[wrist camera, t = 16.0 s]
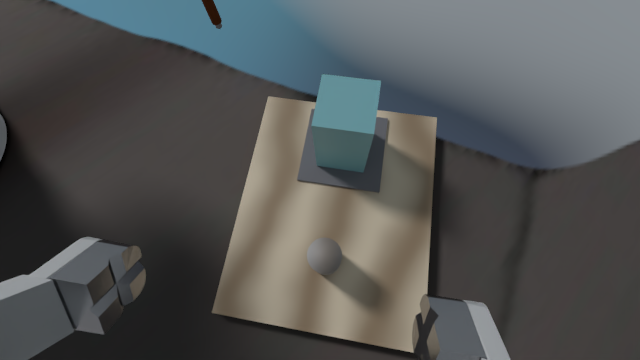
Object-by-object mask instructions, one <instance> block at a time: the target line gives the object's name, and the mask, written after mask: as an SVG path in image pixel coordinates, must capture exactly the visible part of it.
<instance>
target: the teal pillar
mask: <svg viewBox="0 0 640 360" xmlns="http://www.w3.org/2000/svg"><path fill="white" fill-rule="evenodd" d="M380 86H381V81H376V80H368V79H360V78H350V77H343V76H335V75H326V74H322V77H321V81H320V87H319V91H318V96H317V101H316V106H315V110H314V115H313V120H312V125H311V127H312V134H313V142H314V149H315V156H316V164H317V166H322V167H328V168H335V169H342V170H349V171H355V172H362V173H363V172H364V169H365V165H366V162H367V158H368V154H369V151H370V147H371V144H372V140H373V136H374V131H375V124H376V116H377V108H378V101H379V92H380Z"/></svg>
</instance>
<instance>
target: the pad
mask: <svg viewBox="0 0 640 360" xmlns="http://www.w3.org/2000/svg"><path fill="white" fill-rule="evenodd" d="M314 110H315V109H311V114H310V119H309V124H308V129H307V134H306V139H305V143H304V148H303V153H302V158H301V163H300V168H299V172H298V177H297V180H298V181H304V182H311V183H318V184H324V185H331V186H338V187H344V188H351V189H357V190H364V191H371V192H377V193H379V192H380V183H381V175H382V166H383V157H384V148H385V139H386V131H387V122H388V118H381V117H376V124H375V131H374V136H373V140H372V144H371V147H370V151H369V154H368V158H367V162H366V165H365V169H364V172H363V173H362V172H355V171H349V170H342V169H335V168H328V167H322V166H317V164H316V156H315V149H314V142H313V134H312V127H311V125H312V120H313V115H314Z"/></svg>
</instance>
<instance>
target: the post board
mask: <svg viewBox="0 0 640 360" xmlns="http://www.w3.org/2000/svg"><path fill="white" fill-rule="evenodd" d="M315 106H316V102H308V101H300V100H292V99H284V98H276V97H269V96H268V100H267V104H266V108H265V112H264V115H263V119H262V123H261V127H260V131H259V134H258V138H257V142H256V146H255V150H254V153H253V157H252V161H251V165H250V169H249V173H248V176H247V180H246V184H245V188H244V192H243V195H242V199H241V203H240V207H239V211H238V214H237V218H236V222H235V226H234V230H233V233H232V237H231V241H230V245H229V249H228V253H227V256H226V260H225V264H224V268H223V272H222V275H221V279H220V283H219V287H218V291H217V294H216V298H215V302H214V306H213V310H212V313H215V314H220V315H225V316H230V317H235V318H240V319H245V320H250V321H255V322H260V323H265V324H270V325H276V326H281V327H286V328H291V329H296V330H301V331H306V332H311V333H316V334H321V335H326V336H331V337H336V338H341V339H346V340H351V341H356V342H361V343H367V344H372V345H377V346H382V347H387V348H392V349H397V350H402V351H407V352H412V353H414V351H413V344H412V330H413V323H414V319H415V316H416V315H417V314H419V313H420V312H421V309H420V301H421V298H422V296H423V295H424V294H427V288H428V270H429V252H430V234H431V215H432V197H433V179H434V161H435V143H436V124H437V118H436V117H427V116H419V115H412V114H404V113H395V112H388V111H380V110H377V116H376V117H381V118H388V122H387V131H386V139H385V148H384V157H383V166H382V175H381V183H380V192H379V193H377V192H371V191H364V190H357V189H351V188H344V187H338V186H331V185H324V184H318V183H311V182H304V181H298V180H297V177H298V172H299V168H300V163H301V158H302V153H303V148H304V143H305V139H306V134H307V129H308V124H309V119H310V114H311V109H315Z"/></svg>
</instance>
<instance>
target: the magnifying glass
mask: <svg viewBox="0 0 640 360" xmlns="http://www.w3.org/2000/svg"><path fill="white" fill-rule="evenodd" d="M202 2H203V4H204V6H205V8H206V11H207V13H208V15H209V17H210V19H211V21H212V23H213V24H214V25H215V26H216V28H218V29H220V28H221V27H222V25H221V18H220V16H219V13H218V11H217V9H216V6H215V4H214V1H213V0H202Z"/></svg>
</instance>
